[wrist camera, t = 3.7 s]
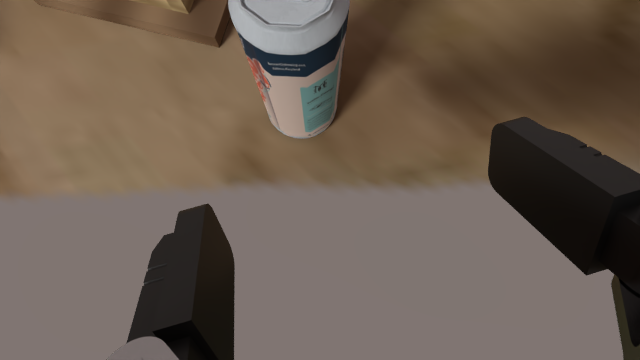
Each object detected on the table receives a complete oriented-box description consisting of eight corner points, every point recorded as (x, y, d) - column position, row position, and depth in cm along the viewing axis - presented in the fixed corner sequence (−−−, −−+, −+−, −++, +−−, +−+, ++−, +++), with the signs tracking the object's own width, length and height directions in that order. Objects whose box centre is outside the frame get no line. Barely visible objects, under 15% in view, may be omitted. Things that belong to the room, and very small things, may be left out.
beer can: (283, 67, 25) (251, -91, 14) (346, 89, 25) (369, -53, 13) (257, 127, 24) (200, 14, 13) (322, 150, 24) (324, 57, 12)
